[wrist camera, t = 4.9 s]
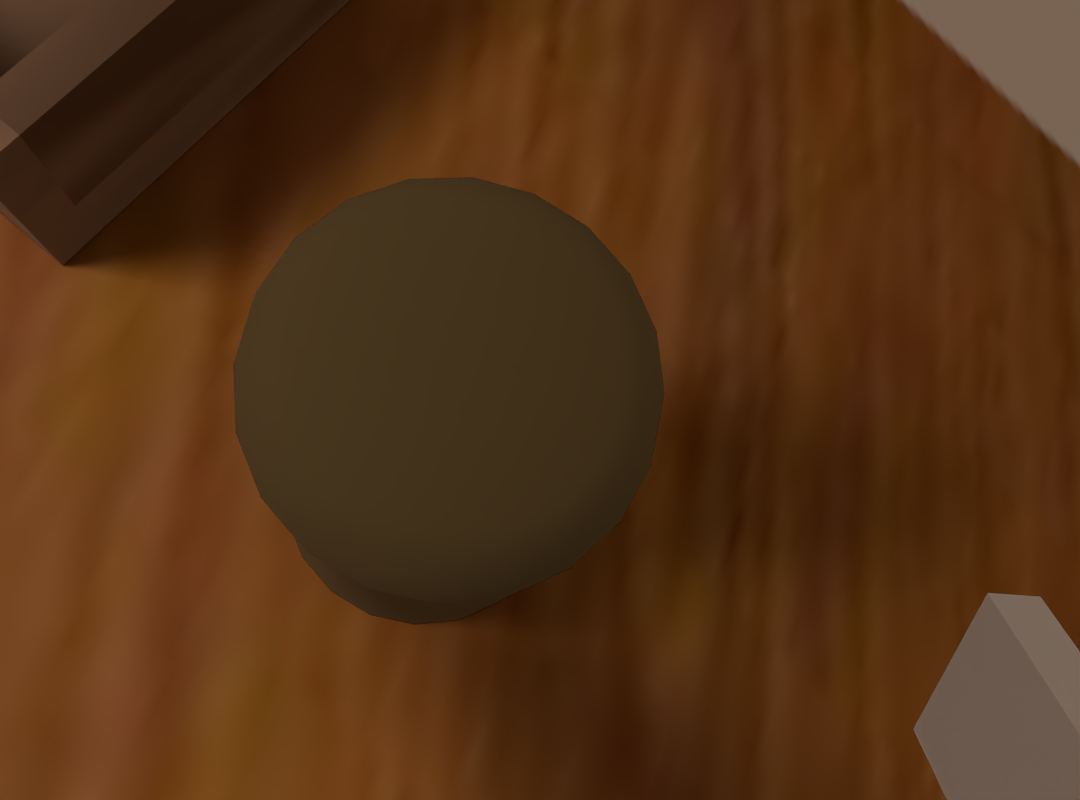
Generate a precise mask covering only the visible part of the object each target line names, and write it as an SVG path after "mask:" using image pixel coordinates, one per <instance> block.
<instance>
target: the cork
mask: <svg viewBox="0 0 1080 800" xmlns="http://www.w3.org/2000/svg"><path fill="white" fill-rule="evenodd" d="M234 392H235V419H236V434H237V437H238V439H239V442H240V444H241V447H242V450H243V452H244V455H245V457H246V460H247V462H248V465H249V468H250V470H251V473H252V475H253V478H254V480H255V483H256V486H257V488H258V491H259V493H260V496H261V498H262V499H263V500H264V502H265V503H266V504H267V505H268V506H269V507H270V509H271V510H272V511H273V512H274V513H275V515H276V516H277V517H278V518H279V519H280V520H281V522H282V523H283V524H284V525H285V526H286V528H287V529H288V530H289V531H290V532H291V533H292V535H293V536H294V537H295V539H296V542H297V544H298V547H299V549H300V552H301V554H302V557H303V558H304V560H305V561H306V562H307V563H308V564H309V565H310V567H311V568H312V569H313V570H314V571H315V573H316V574H317V575H318V576H319V577H320V578H321V580H322V581H323V582H324V583H325V584H326V586H327V587H328V588H329V589H330V590H331V591H332V592H333V593H335V594H337V595H338V596H340V597H342V598H343V599H345V600H346V601H348V602H350V603H351V604H353V605H355V606H356V607H358V608H360V609H361V610H363V611H365V612H366V613H368V614H370V615H374V616H378V617H383V618H387V619H392V620H396V621H401V622H406V623H410V624H423V623H432V622H442V621H451V620H459V619H461V618H464V617H466V616H468V615H470V614H473V613H475V612H477V611H479V610H481V609H484V608H486V607H488V606H490V605H493V604H495V603H497V602H499V601H500V600H502V599H503V598H504V597H508V596H510V595H512V594H514V593H516V592H519V591H521V590H523V589H525V588H528V587H530V586H532V585H534V584H536V583H539V582H541V581H543V580H545V579H548V578H550V577H552V576H554V575H557V574H559V573H561V572H563V571H565V570H568V569H570V568H571V567H572V566H573V565H574V564H575V563H576V562H577V561H578V560H580V559H581V558H582V557H583V556H584V555H585V554H586V553H587V552H588V551H589V550H590V549H592V548H593V547H594V546H595V545H596V544H597V543H598V542H599V541H600V540H601V539H602V538H603V537H605V536H606V535H607V534H608V533H609V532H610V531H611V530H612V529H613V528H614V527H615V526H617V525H618V524H619V522H620V520H621V519H622V517H623V515H624V513H625V511H626V510H627V508H628V506H629V504H630V502H631V501H632V499H633V497H634V495H635V493H636V491H637V490H638V488H639V486H640V484H641V482H642V481H643V479H644V477H645V475H646V473H647V472H648V470H649V468H650V466H651V461H652V456H653V450H654V445H655V440H656V434H657V429H658V424H659V419H660V413H661V408H662V403H663V397H664V387H663V379H662V372H661V364H660V356H659V348H658V340H657V332H656V329H655V327H654V325H653V323H652V321H651V318H650V316H649V314H648V312H647V310H646V308H645V305H644V303H643V301H642V299H641V297H640V295H639V292H638V290H637V288H636V286H635V284H634V281H633V279H632V277H631V275H630V273H629V272H628V271H627V270H626V269H625V268H624V267H623V266H622V264H621V263H620V262H619V261H618V260H617V259H616V258H615V257H614V256H613V254H612V253H611V252H610V251H609V250H608V249H607V248H606V247H605V245H604V244H603V243H602V242H601V241H600V240H599V239H598V238H597V236H596V235H595V234H594V233H593V232H592V231H591V230H590V229H589V228H588V227H587V226H585V225H584V224H582V223H581V222H579V221H577V220H576V219H574V218H572V217H571V216H569V215H568V214H566V213H564V212H563V211H561V210H559V209H558V208H556V207H555V206H553V205H551V204H550V203H548V202H546V201H545V200H543V199H542V198H540V197H538V196H537V195H535V194H532V193H528V192H525V191H521V190H517V189H514V188H510V187H506V186H503V185H499V184H495V183H491V182H488V181H484V180H480V179H477V178H434V179H408V180H405V181H402V182H399V183H396V184H393V185H390V186H387V187H384V188H381V189H378V190H375V191H372V192H369V193H366V194H363V195H360V196H357V197H354V198H351V199H348V200H347V201H345V202H344V203H342V204H341V205H340V206H338V207H337V208H336V209H334V210H333V211H331V212H330V213H329V214H327V215H326V216H324V217H323V218H322V219H320V220H319V221H318V222H316V223H315V224H313V225H312V226H311V227H309V228H308V229H307V230H305V231H304V232H302V233H301V234H300V235H298V236H297V237H296V238H295V239H294V240H293V242H292V243H291V244H290V246H289V247H288V249H287V250H286V251H285V253H284V254H283V256H282V257H281V258H280V260H279V261H278V262H277V264H276V265H275V267H274V268H273V269H272V271H271V272H270V274H269V275H268V276H267V278H266V279H265V281H264V282H263V283H262V285H261V286H260V287H259V289H258V290H257V292H256V295H255V297H254V300H253V303H252V306H251V309H250V313H249V316H248V319H247V322H246V326H245V329H244V332H243V336H242V339H241V342H240V345H239V349H238V352H237V355H236V358H235V362H234Z"/></svg>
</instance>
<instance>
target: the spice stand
mask: <svg viewBox="0 0 1080 800" xmlns="http://www.w3.org/2000/svg"><path fill="white" fill-rule="evenodd" d="M349 1H350V0H0V213H1V214H2V215H4V216H5V217H6V218H7V219H8V220H10V221H11V222H12V223H13V224H14V225H15V226H17V227H18V228H19V229H20V230H21V231H22V232H24V233H25V234H26V235H27V236H28V237H30V238H31V239H32V240H33V241H34V242H35V243H37V244H38V245H39V246H40V247H41V248H42V249H44V250H45V251H46V252H47V253H48V254H50V255H51V256H52V257H53V258H54V259H55V260H57V261H58V262H59V263H60V264H61V265H62V266H63V265H64V264H65V263H66V262H67V261H68V260H69V259H70V258H72V257H73V256H74V255H75V254H76V253H77V252H78V251H79V250H80V249H81V248H82V247H83V246H85V245H86V244H87V243H88V242H89V241H90V240H91V239H92V238H93V237H94V236H95V235H96V234H98V233H99V232H100V231H101V230H102V229H103V228H104V227H105V226H106V225H107V224H108V223H109V222H111V221H112V220H113V219H114V218H115V217H116V216H117V215H118V214H119V213H120V212H121V211H122V210H124V209H125V208H126V207H127V206H128V205H129V204H130V203H131V202H132V201H133V200H134V199H135V198H137V197H138V196H139V195H140V194H141V193H142V192H143V191H144V190H145V189H146V188H147V187H148V186H149V185H151V184H152V183H153V182H154V181H155V180H156V179H157V178H158V177H159V176H160V175H161V174H162V173H164V172H165V171H166V170H167V169H168V168H169V167H170V166H171V165H172V164H173V163H174V162H175V161H177V160H178V159H179V158H180V157H181V156H182V155H183V154H184V153H185V152H186V151H187V150H188V149H190V148H191V147H192V146H193V145H194V144H195V143H196V142H197V141H198V140H199V139H200V138H201V137H203V136H204V135H205V134H206V133H207V132H208V131H209V130H210V129H211V128H212V127H213V126H214V125H216V124H217V123H218V122H219V121H220V120H221V119H222V118H223V117H224V116H225V115H226V114H227V113H228V112H230V111H231V110H232V109H233V108H234V107H235V106H236V105H237V104H238V103H239V102H240V101H241V100H243V99H244V98H245V97H246V96H247V95H248V94H249V93H250V92H251V91H252V90H253V89H254V88H256V87H257V86H258V85H259V84H260V83H261V82H262V81H263V80H264V79H265V78H266V77H267V76H269V75H270V74H271V73H272V72H273V71H274V70H275V69H276V68H277V67H278V66H279V65H280V64H282V63H283V62H284V61H285V60H286V59H287V58H288V57H289V56H290V55H291V54H292V53H293V52H295V51H296V50H297V49H298V48H299V47H300V46H301V45H302V44H303V43H304V42H305V41H306V40H308V39H309V38H310V37H311V36H312V35H313V34H314V33H315V32H316V31H317V30H318V29H319V28H320V27H322V26H323V25H324V24H325V23H326V22H327V21H328V20H329V19H330V18H331V17H332V16H333V15H335V14H336V13H337V12H338V11H339V10H340V9H341V8H342V7H343V6H344V5H345V4H346V3H348V2H349Z"/></svg>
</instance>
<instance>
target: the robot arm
mask: <svg viewBox="0 0 1080 800" xmlns="http://www.w3.org/2000/svg"><path fill="white" fill-rule="evenodd" d="M913 730H914V732H915V734H916V736H917V738H918V740H919V742H920V744H921V747H922V749H923V751H924V753H925V755H926V757H927V759H928V761H929V763H930V766H931V768H932V770H933V772H934V774H935V776H936V778H937V780H938V782H939V784H940V787H941V789H942V791H943V793H944V795H945V797H946V799H947V800H1080V651H1079V650H1078V649H1077V647H1076V646H1075V644H1074V643H1073V642H1072V640H1071V639H1070V637H1069V636H1068V635H1067V633H1066V632H1065V630H1064V629H1063V627H1062V626H1061V625H1060V623H1059V622H1058V620H1057V619H1056V618H1055V616H1054V615H1053V613H1052V612H1051V611H1050V609H1049V608H1048V606H1047V605H1046V604H1045V602H1044V601H1043V599H1042V598H1041V597H1039V596H1024V595H1010V594H996V593H987V595H986V597H985V599H984V600H983V602H982V604H981V606H980V608H979V610H978V611H977V613H976V615H975V617H974V619H973V621H972V622H971V624H970V626H969V628H968V630H967V632H966V633H965V635H964V637H963V639H962V641H961V643H960V644H959V646H958V648H957V650H956V652H955V654H954V655H953V657H952V659H951V661H950V663H949V664H948V666H947V668H946V670H945V672H944V674H943V675H942V677H941V679H940V681H939V683H938V685H937V686H936V688H935V690H934V692H933V694H932V696H931V697H930V699H929V701H928V703H927V705H926V707H925V708H924V710H923V712H922V714H921V716H920V718H919V719H918V721H917V723H916V725H915V727H914V729H913Z"/></svg>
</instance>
